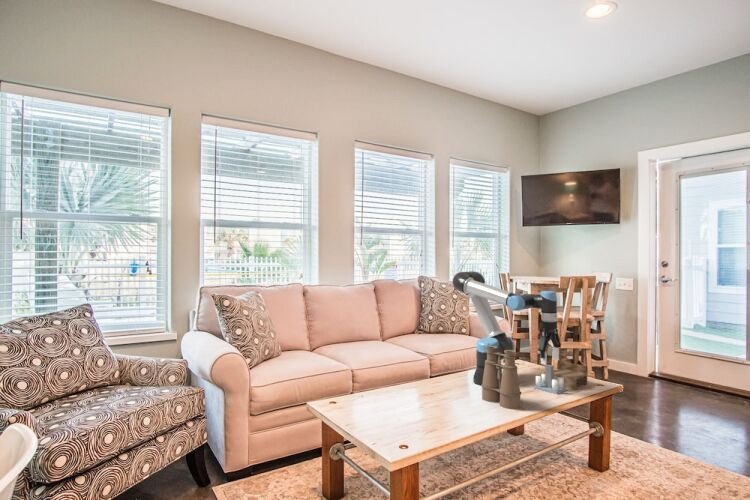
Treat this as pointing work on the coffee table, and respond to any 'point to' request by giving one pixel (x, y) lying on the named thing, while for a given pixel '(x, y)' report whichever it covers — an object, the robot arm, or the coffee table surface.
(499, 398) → the binoculars
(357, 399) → the coffee table surface
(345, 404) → the coffee table surface
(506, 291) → the robot arm
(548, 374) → the pegged blue plate
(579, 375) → the wooden u channel
